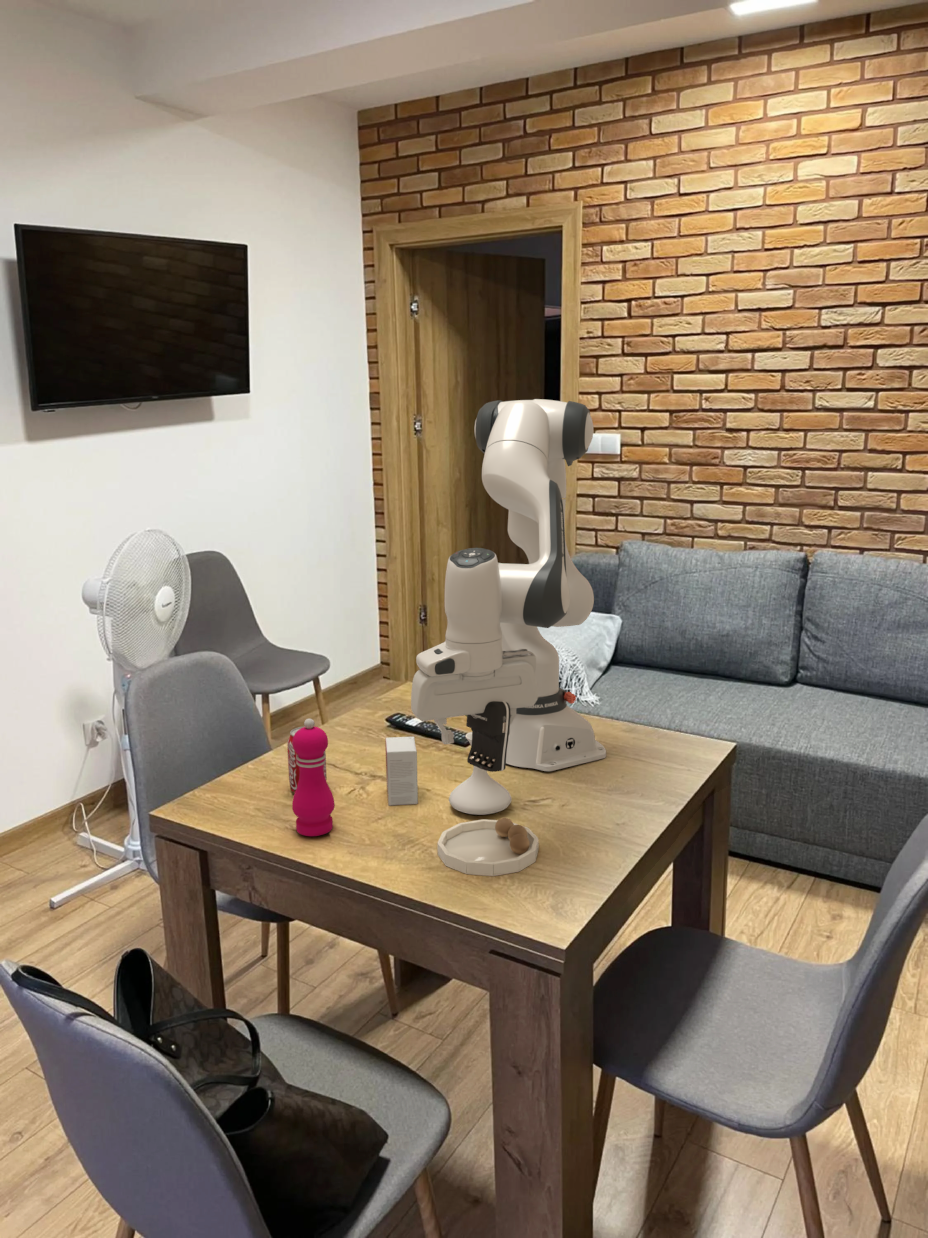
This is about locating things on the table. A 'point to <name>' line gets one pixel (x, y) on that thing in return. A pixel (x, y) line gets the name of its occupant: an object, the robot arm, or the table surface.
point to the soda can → (292, 764)
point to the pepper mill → (312, 782)
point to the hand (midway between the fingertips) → (476, 738)
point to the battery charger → (490, 736)
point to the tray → (483, 849)
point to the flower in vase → (479, 793)
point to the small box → (401, 770)
